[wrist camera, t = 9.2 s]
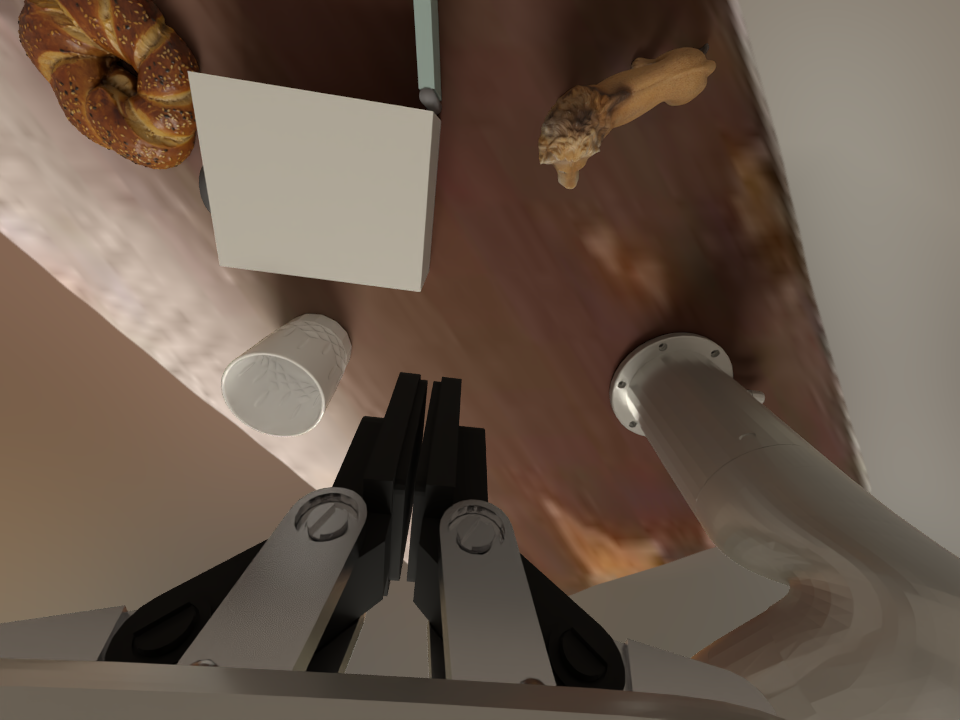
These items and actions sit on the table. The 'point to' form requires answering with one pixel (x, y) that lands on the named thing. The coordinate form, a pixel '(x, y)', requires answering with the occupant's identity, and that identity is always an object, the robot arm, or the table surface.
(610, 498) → the table surface
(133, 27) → the pretzel
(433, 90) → the door
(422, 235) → the case
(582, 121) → the lion figurine
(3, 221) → the table surface
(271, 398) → the white cup
